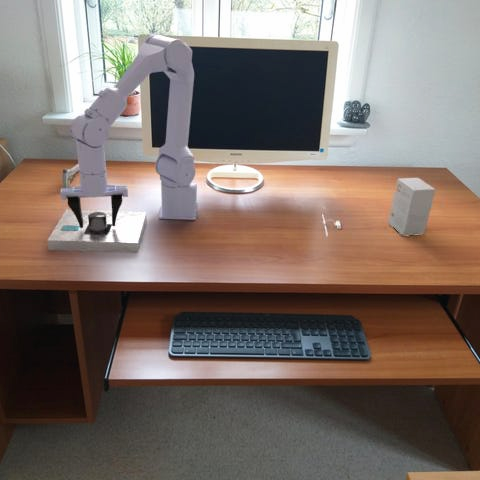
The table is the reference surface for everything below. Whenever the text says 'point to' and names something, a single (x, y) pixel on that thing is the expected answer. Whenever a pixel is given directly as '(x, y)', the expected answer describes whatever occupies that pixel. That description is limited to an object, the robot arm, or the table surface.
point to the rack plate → (118, 240)
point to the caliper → (69, 175)
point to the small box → (411, 206)
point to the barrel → (97, 223)
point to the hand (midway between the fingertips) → (97, 224)
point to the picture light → (334, 224)
